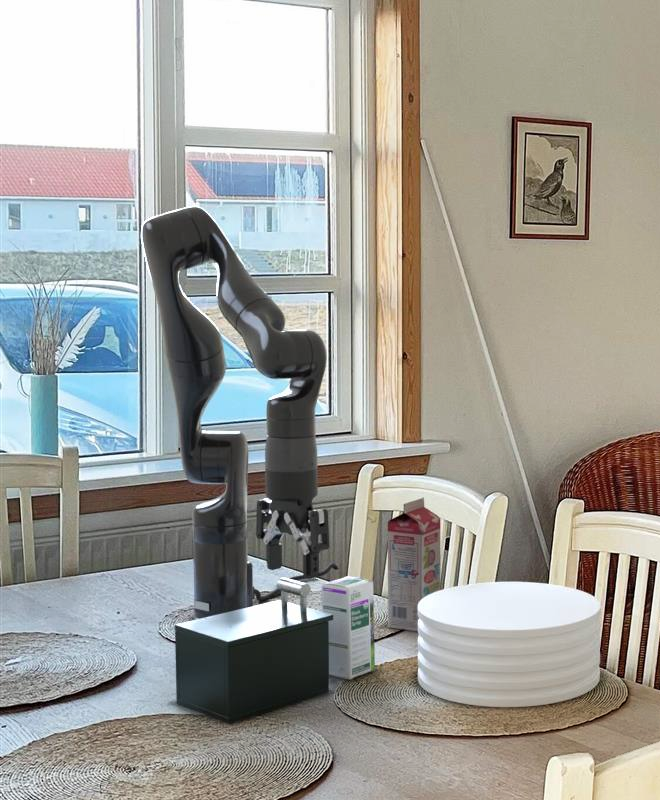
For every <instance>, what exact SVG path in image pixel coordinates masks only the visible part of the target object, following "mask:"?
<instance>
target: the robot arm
mask: <svg viewBox="0 0 660 800" xmlns="http://www.w3.org/2000/svg"><path fill="white" fill-rule="evenodd" d="M140 239H141V244H142V250H143V254H144V257H145V262H146V266H147V270H148V273H149V276H150V280H151V285H152V287H153V292H154V295H155V299H156V303H157V304H156V305H157V309H158V314H159V319H160V325H161V333H162V341H163V347H164V353H165V359H166V363H167V369H168V373H169V374H168V375H169V379H170V383H171V388H172V394H173V398H174V403H175V410H176V417H177V428H178V437H179V450H180V458H181V459H180V460H181V466H182V470H183V475H184V476H185V478H186V479H187V481H188V482H190V483H192V484H199V485H225V490H224V493H222V494H221V495H220V496H218V497H216V498H213V499H210V500H208V501H205V502H201V503H199V504H197V505H195V506H194V508H193V509H192V512H191V513H192V514H191V515H192V516H191V519H192V521H191V522H192V554H193V555H192V556H193V557H192V566H193V568H192V569H193V620H197V619H201V618H205V617H210V616H214V615H218V614H222V613H227V612H231V611H235V610H239V609H244V608H248V607H252V606H254V600H255V599H256V600H257V601H259V602H264V601H266V600H267V601H268V600H269V599H272V598H273V597H275V596H276V595H278V594H279V593H281V591H280V590H279V589H278V588H277V587H276V588H275V589H274V590H271V592H269V593H267V594H265V595H263V596H261V592H260V590H259V589H256V588H255V586H254V577H253V576H254V572H253V566H254V565H253V563H252V562H251V561H248V559H249V558H248V477H249V475H248V474H249V445H248V440H247V437H246V435H245V434H244V433H243V432H241V431H228V430H203V428H202V424H201V423H202V422H201V421H202V417H203V414H204V412H205V410H206V408H207V406H208V404H209V402H210V401H211V400H212V398H213V397H214V395H215V394H216V392H217V391H218V389H219V387H220V385H221V383H222V382H223V380H224V377H225V375H226V369H227V364H226V357H225V350H224V343H223V338H222V337H223V336H222V334H221V331H220V329H219V328H218V326H216V324H215V323H214V322H213V321H212V320H211V319H210V318H209V317H208V316H207V315H206V314H205V313H203V311H201V310H200V309H199V308H198V307H196V305H194V303H192V301H190V299H189V298H188V297H187V296H186V294H185V293H184V292H183V290H182V287H181V284H180V280H179V273H180V272H184V271H186V270H190V269H192V268H195V267H199V266H201V265H204V264H206V263H211V265H214V267H215V268H216V270H217V280H216V281H217V282H216V301H217V306H218V308H219V312H221V315H222V316H223V317H224V318H225V320H226V321H227V322H228V323H229V325H231V327H232V328H233V330H235V331H236V332H237V334H238V335H239V336H240V337H242V340H243V343H244V345H245V347H246V349H247V351H248V354H249V357H250V359H251V361H252V364H253V366H254V368H255V369H256V371H257V372H258V373H260V374H261V375H262V376H264V377H266V378H268V379H270V380H286V379H287V380H288V379H290V380H289V383H288V386H287V388H286V389H285V390H284V391H283V392H281V393H279V394H276V395H273V396H272V397H270V398H269V399H268V400H267V402H266V411H265V412H266V416H265V417H266V421H265V422H266V440H265V449H264V468H265V469H264V471H265V472H264V478H265V479H264V481H265V482H264V483H265V484H264V485H265V497H266V498H263V499H258V500H257V501H256V515H255V516H256V517H255V537H256V539H257V540H260V539H261V540H262V541H263V544H264V545H265V551H266V554H265V555H266V556H265V558H266V559H265V561H266V567H267V569H268V570H270V571H274V570H280V569H282V567H283V544H282V543H281V542H282V540H283V538H284V536H285V535H286V534H288V535H290V536H293V537H294V540H295V542H297V543H299V545H300V548H301V549H302V551H303V554H302V574H301V575H295V576H291V577H287V578H288V579H291V580H295V581H302V580H311V579H316V578H318V577H323V576H325V575H326V574H328V573H329V572H330V570H331V569H333V570H337V571H338V570H339V567H338V565H337V564H336V563H334V562H331V563H329V564H327V566H326V567H325V568H324V569H323V570H322V571H320V553H321V552H323V551H326V550H329V549H330V527H329V526H330V525H329V511H328V509H327V508H322V509H314V506H313V500H314V499H315V498H316V497H317V496H318V490H319V489H318V488H319V487H318V486H319V485H318V483H319V481H318V445H317V438H316V406H317V402H318V399H319V396H320V392H321V388H322V383H323V381H324V380H323V379H324V375H325V372H326V367H327V363H328V362H327V361H328V359H327V358H328V355H327V354H328V353H327V348H326V344H325V342H324V340H323V338H322V337H321V336H320V335H319V334H318V333H317V332H316V331H314V330H311V329H292V330H291V329H290V330H289V329H288V330H284V329H285V326H286V317H285V314H284V312H283V311H282V309H281V308H280V306H279V305H277V303H276V302H275V301H274V300H273V299H272V298H271V297H270V296H269V295H268V294H267V292H266V291H264V289H262V287H261V286H260V285H259V284H258V283H257V282H256V280H255V279H254V278H253V277H252V275H251V274H250V273H249V271H248V270H247V268H246V267H245V265H244V263H243V261H242V260H241V258H240V256H239V255H238V253H237V252H236V250H235V249H234V247H233V246H232V244H231V243H230V241H229V239H228V238H227V237H226V235H225V233H224V232H223V230H222V229H221V227H220V226H219V224H218V223H217V222H216V220H215V219H214V218H213V217H212V216H211V214H210V213H208V211H206V210H205V208H203V207H200V206H198V205H192V206H187V207H183V208H179V209H175V210H172V211H168V212H165V213H162V214H157V215H155V216H152V217H150V218H148V219H146V220H145V221H144V222H143V223H142V225H141V231H140ZM265 524H266V528H265V529H264V527H265ZM319 536H321V537H320V539H321V541H319ZM309 541H310V544H309Z"/></svg>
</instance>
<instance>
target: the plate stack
mask: <svg viewBox="0 0 660 800" xmlns="http://www.w3.org/2000/svg"><path fill="white" fill-rule="evenodd" d="M601 614H602V605H601V602H600V601H599V599H598V598H596V596H594V595H592V594H590V593H589V592H586V591H583V590H580V589H577V588H573V587H569V586H564V585H558V584H553V583H552V584H551V583H545V582H532V581H490V582H488V581H487V582H478V583H477V582H476V583H469V584H461V585H455V586H452V587H448V588H443V589H440V591H437V592H434V593H432V594H429V595H427V596H426V597H424V598H423V599H422V600H421V601H420V602H419V604H418V617H419V620H418V631H417V633H418V636H417V650H418V652H417V665H418V669H417V682H418V684H419V686H420V687H421V688H422V689H423V690H424V691H425V692H427V693H429V694H431V695H433V696H434V697H438V698H439V699H443V700H446V701H449V702H452V703H453V702H454V703H458V704H463V705H469V706H478V707H487V708H489V707H490V708H524V707H525V708H527V707H535V706H536V707H537V706H544V705H551V704H556V703H557V704H558V703H562V702H565V701H568V700H572V699H575V698H578V697H581V696H582V695H585V694H587V693H588V692H590V691H592V690H593V689H595V688H596V687H597V686H598V684H599V682H600V680H601V668H600V664H601V651H600V649H601V634H600V633H601V631H602V630H601V629H602V627H601V625H602V622H601V618H600V617H601Z"/></svg>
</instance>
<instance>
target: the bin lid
mask: <svg viewBox="0 0 660 800" xmlns="http://www.w3.org/2000/svg"><path fill="white" fill-rule="evenodd" d="M288 578H289V577H281V578H279V579H278V580H277V582H276V589H277V588H278V589H279V590H280V591H281V592H280V598H281V599H277V600H274V601H269V602H265V603H261V604H257V605H253V606H252V607H248V608H244V609H239V610H235V611H231V612H227V613H222V614H218V615H214V616H210V617H205V618H201V619H197V620H194V619H193V620H188V621H184V622H181V623H176V624H174V631H175V630H177V631H180V632H183V633H186V634H189V635H192V636H195V637H198V638H201V639H204V640H207V641H210V642H213V643H216V644H219V645H222V646H225V647H231V646H235V645H239V644H243V643H246V642H250V641H254V640H258V639H262V638H266V637H269V636H273V635H277V634H281V633H285V632H289V631H293V630H296V629H300V628H304V627H308V626H312V625H316V624H320V623H323V622H327V621H331V620H333V615H332V614H328V613H325V612H322V610H318V609H314V608H310V607H308V606H307V605H308V602H307V600H308V599H307V598H308V596H310V593H311V589H312V588H311V585H310V584H309V583H306V582H303V581H300V580H296V581H295V580H291V579H288ZM288 594H291V595H294V596H298V597H299V601H300V602H299V604H295V603H292V602H289V601H288Z"/></svg>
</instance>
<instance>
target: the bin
mask: <svg viewBox="0 0 660 800" xmlns="http://www.w3.org/2000/svg"><path fill="white" fill-rule="evenodd" d="M174 638H175V639H174V642H175V643H174V646H175V649H174V650H175V691H176V692H175V695H176V696H175V697H176V700H175V701H176V702H175V703H176V704H177V705H180V706H182V707H185V708H187V709H190V710H193V711H196V712H198V713H200V714H202V715H206V716H208V717H211V718H213V719H216V720H219V721H221V722H224V723H225V724H228V725H229V724H232V723H236V722H239V721H243V720H245V719H248V718H252V717H255V716H259V715H261V714H265V713H268V712H272V711H275V710H278V709H281V708H285V707H287V706H291V705H294V704H297V703H301V702H304V701H306V700H309V699H313V698H317V697H319V696H323V695H325V694H329V693H330V675H329V622H328V621H327V622H323V623H320V624H316V625H312V626H308V627H304V628H300V629H296V630H293V631H289V632H285V633H281V634H277V635H273V636H269V637H266V638H262V639H258V640H254V641H250V642H246V643H243V644H239V645H235V646H231V647H225V646H222V645H219V644H216V643H213V642H210V641H207V640H204V639H201V638H198V637H195V636H192V635H189V634H186V633H183V632H180V631H177V630H175V629H174Z"/></svg>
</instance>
